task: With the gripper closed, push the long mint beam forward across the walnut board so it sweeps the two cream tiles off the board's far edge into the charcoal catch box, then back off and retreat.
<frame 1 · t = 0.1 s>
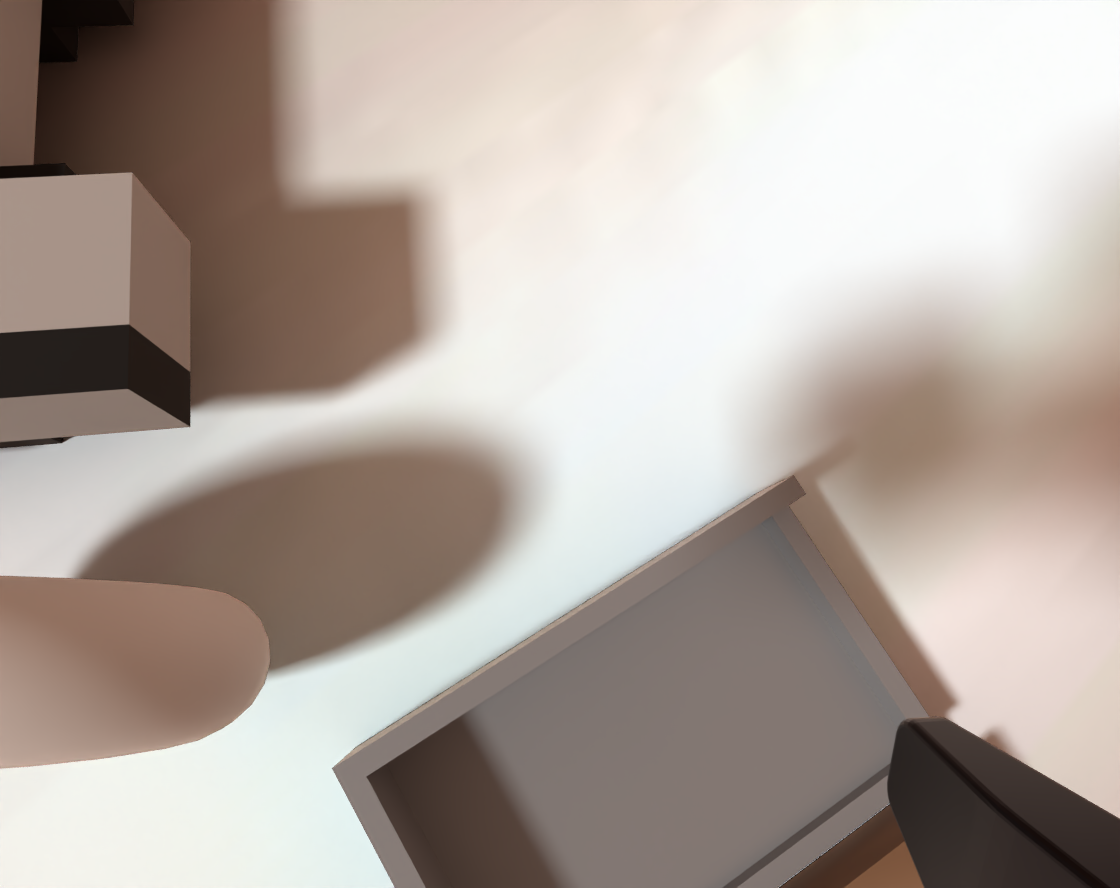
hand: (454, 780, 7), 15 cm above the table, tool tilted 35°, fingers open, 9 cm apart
catch box: (649, 749, 22), on the table
donut: (137, 651, 21), on the table
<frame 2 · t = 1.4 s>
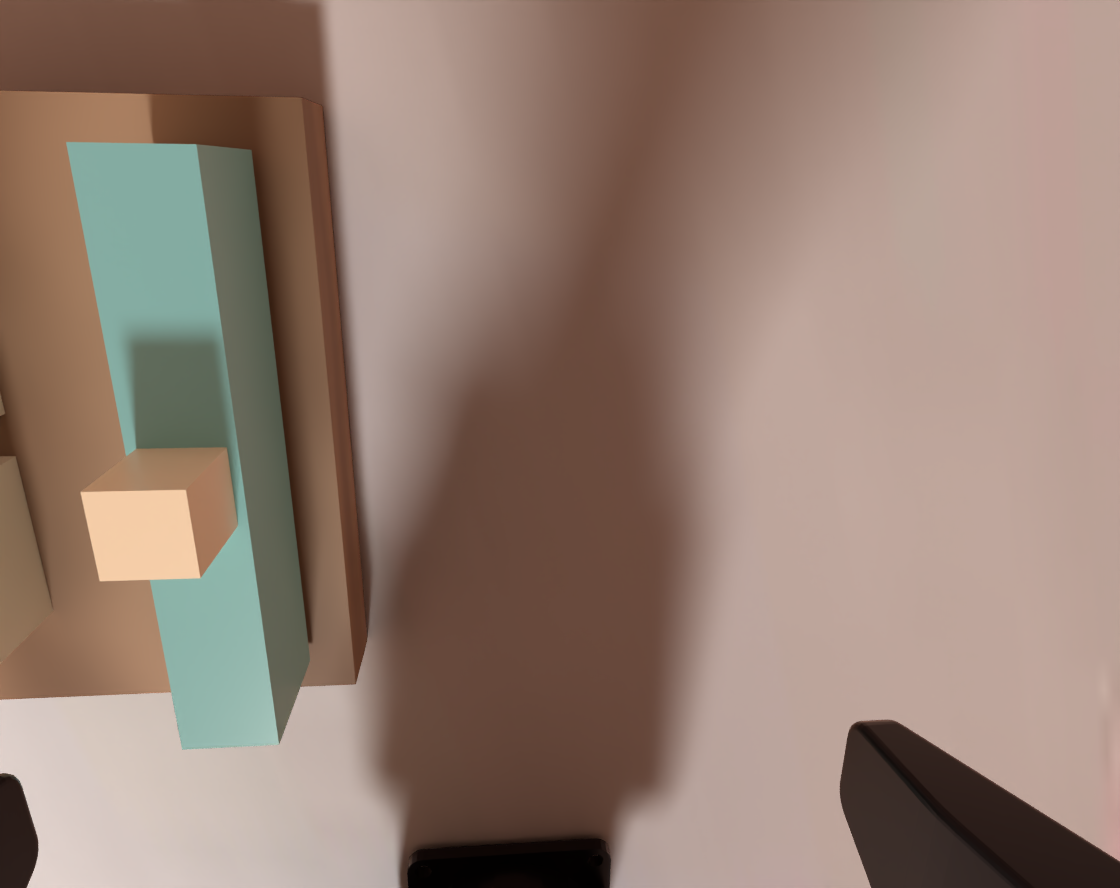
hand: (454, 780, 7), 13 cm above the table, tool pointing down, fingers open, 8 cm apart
long mint beam: (198, 478, 15), point 5 cm above the table, slide at 0.0 cm
walnut board: (58, 408, 19), on the table
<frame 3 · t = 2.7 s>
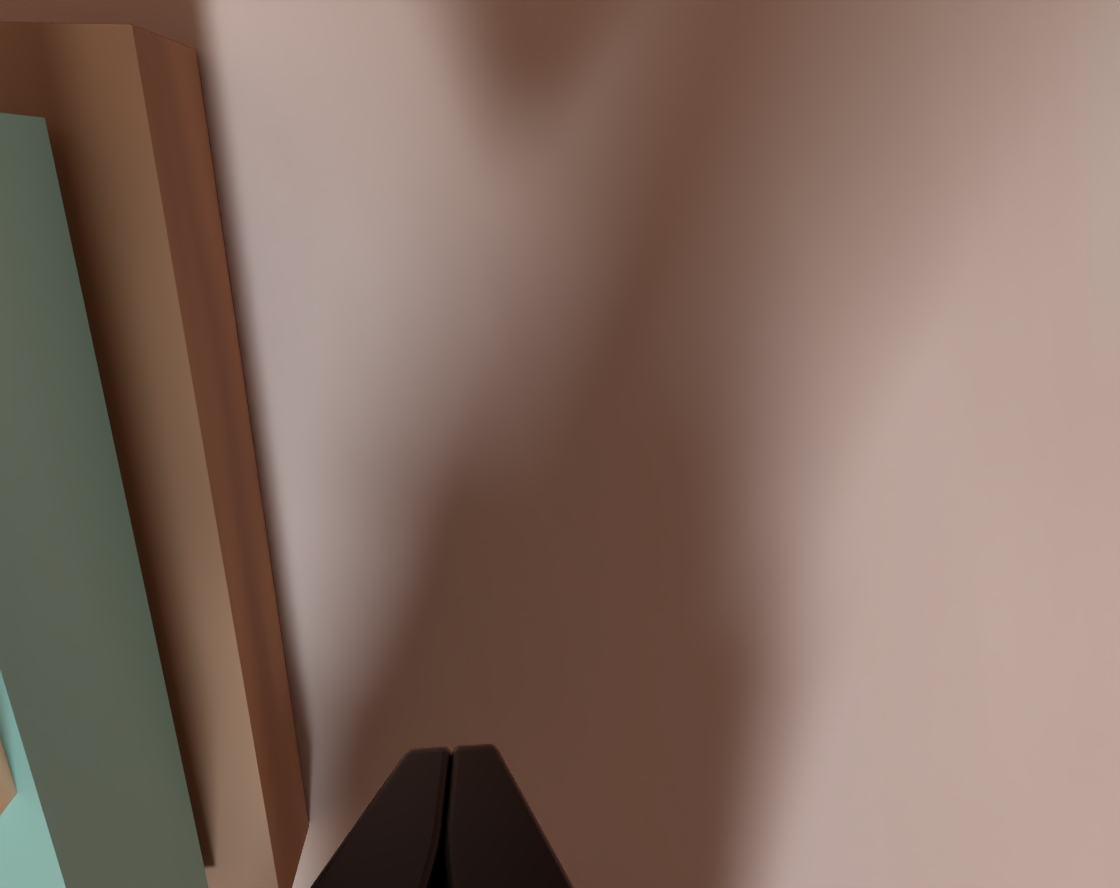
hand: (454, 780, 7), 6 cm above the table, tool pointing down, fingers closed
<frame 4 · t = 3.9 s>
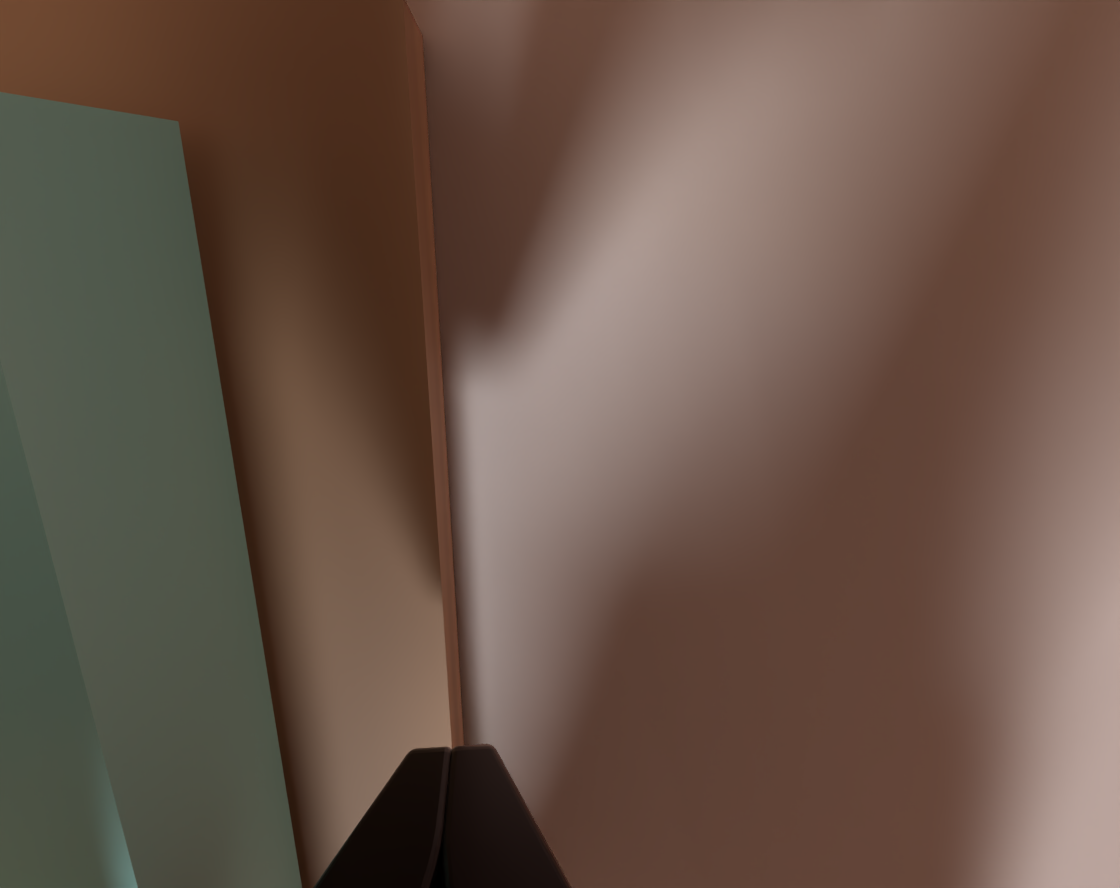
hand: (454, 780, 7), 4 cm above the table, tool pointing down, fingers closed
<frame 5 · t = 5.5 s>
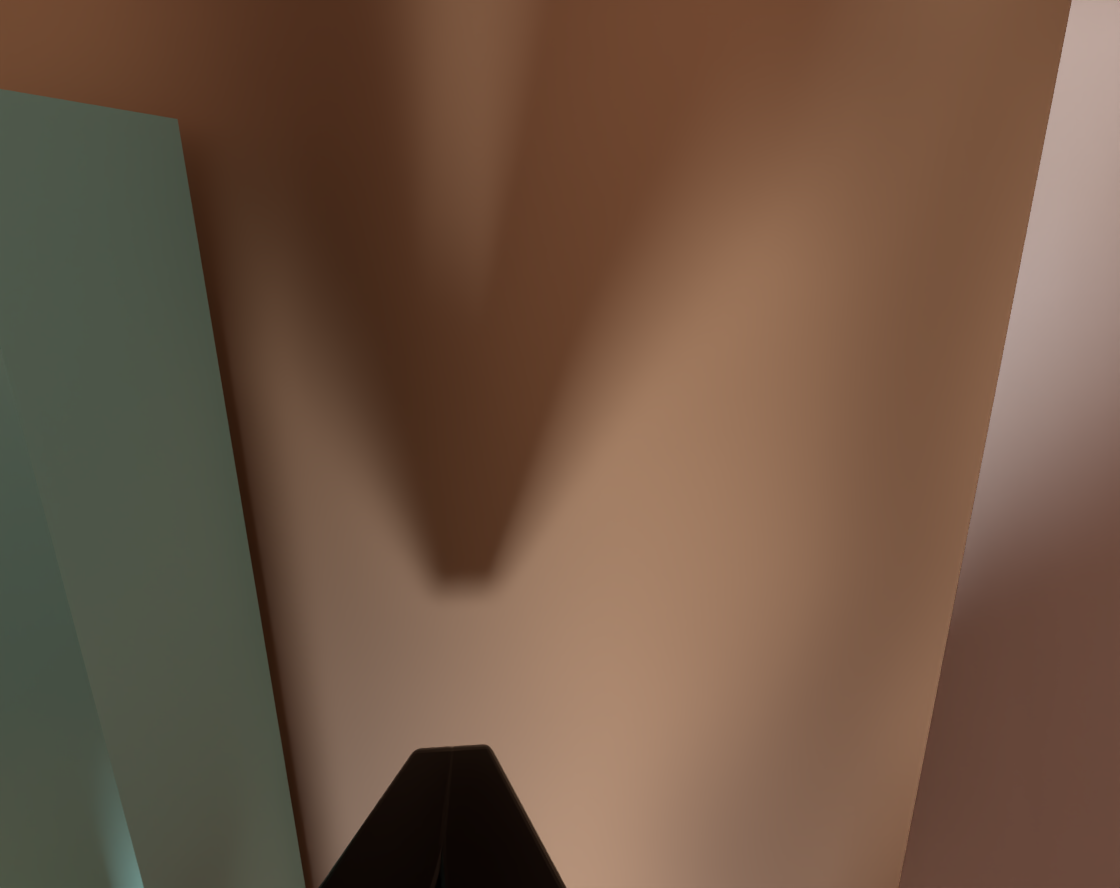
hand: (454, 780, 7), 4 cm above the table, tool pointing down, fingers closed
walnut board: (387, 595, 11), on the table
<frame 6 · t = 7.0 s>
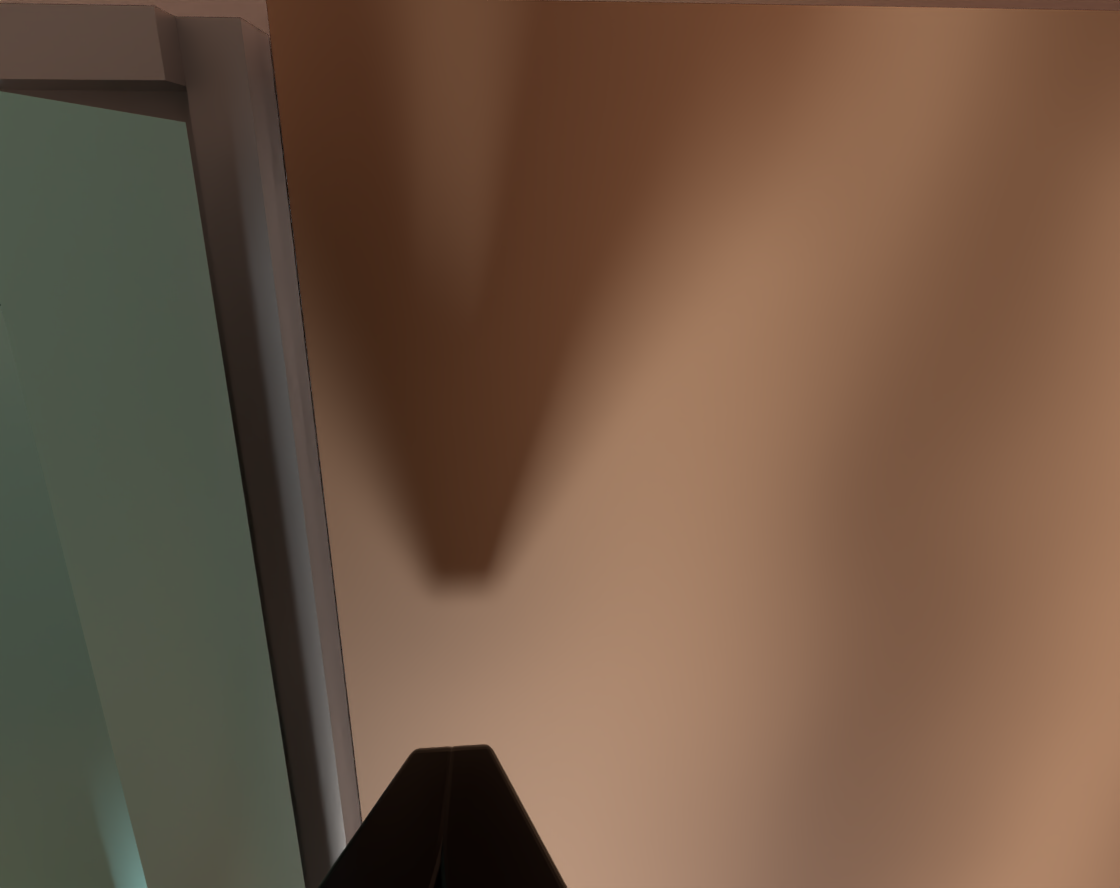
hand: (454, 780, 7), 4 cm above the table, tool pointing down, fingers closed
walnut board: (852, 574, 11), on the table
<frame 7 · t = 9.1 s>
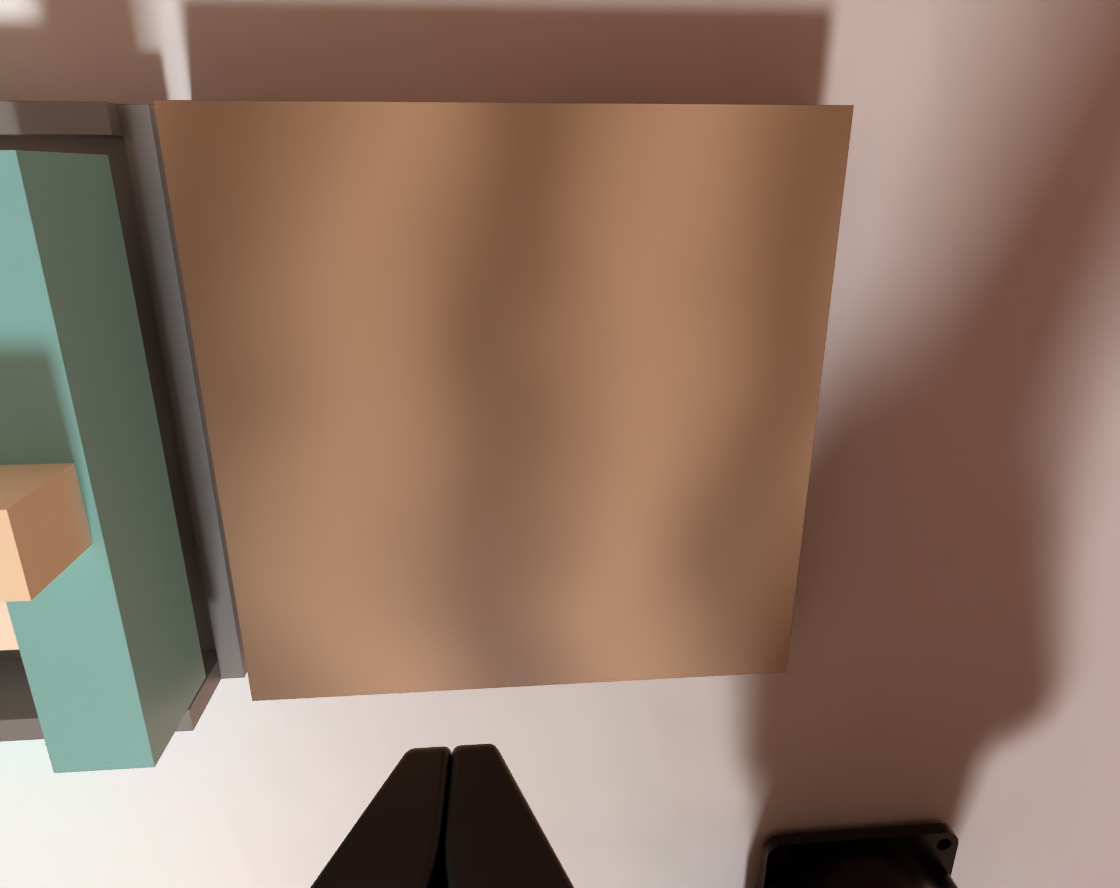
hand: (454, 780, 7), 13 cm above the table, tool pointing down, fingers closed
long mint beam: (52, 494, 14), point 5 cm above the table, slide at 13.9 cm, touching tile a, tile b
catch box: (26, 420, 18), on the table
walnut board: (519, 408, 19), on the table
tile b: (43, 522, 19), resting on catch box, touching long mint beam
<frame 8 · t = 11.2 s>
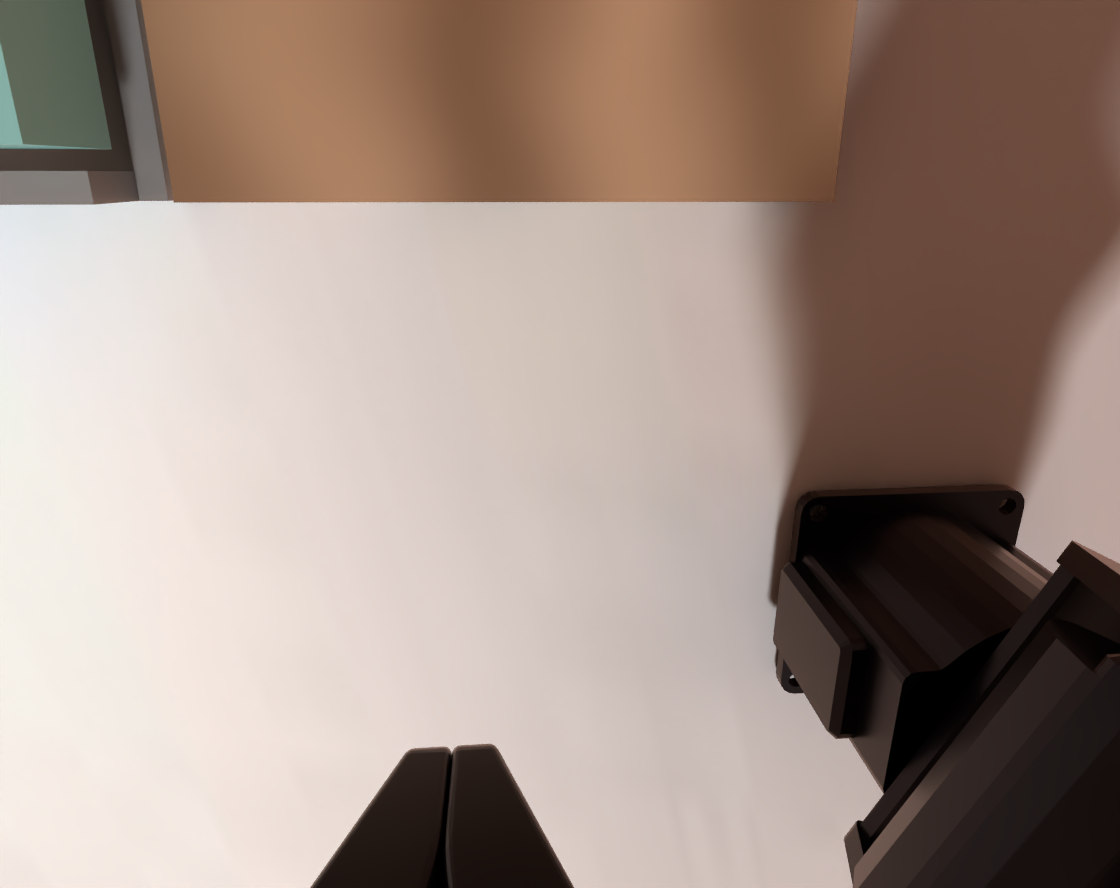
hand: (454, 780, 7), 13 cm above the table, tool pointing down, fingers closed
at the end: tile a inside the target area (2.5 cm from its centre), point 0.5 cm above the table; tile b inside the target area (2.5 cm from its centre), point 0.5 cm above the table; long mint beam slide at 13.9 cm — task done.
